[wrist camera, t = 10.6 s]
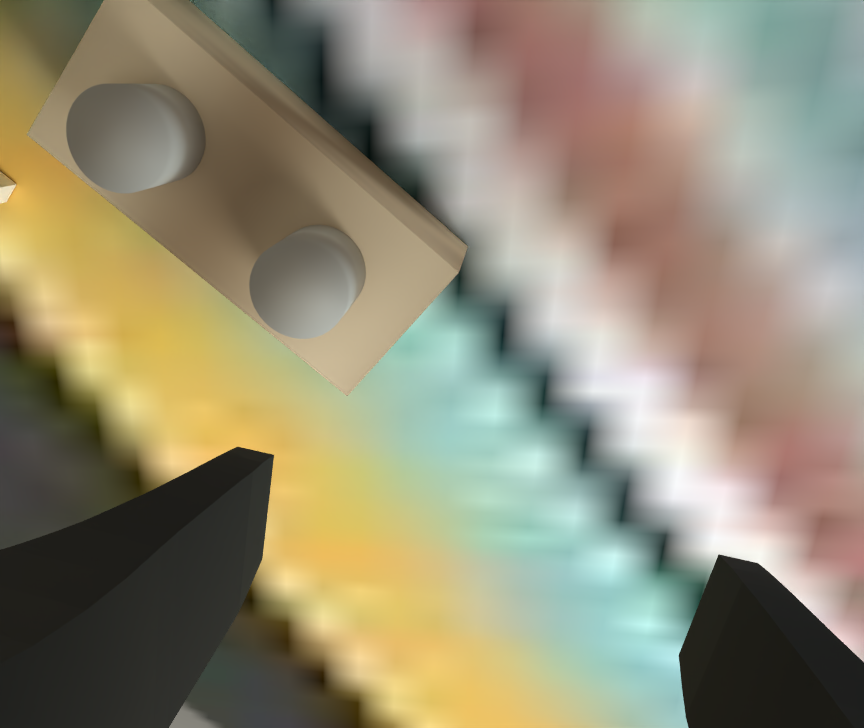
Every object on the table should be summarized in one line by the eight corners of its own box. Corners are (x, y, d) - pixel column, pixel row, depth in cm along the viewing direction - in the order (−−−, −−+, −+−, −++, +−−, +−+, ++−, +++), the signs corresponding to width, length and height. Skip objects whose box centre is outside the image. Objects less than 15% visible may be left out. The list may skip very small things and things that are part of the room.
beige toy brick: (468, 244, 19) (451, 294, 14) (371, 353, 20) (327, 429, 16) (183, -8, 17) (65, -40, 13) (100, 127, 19) (-32, 140, 14)
